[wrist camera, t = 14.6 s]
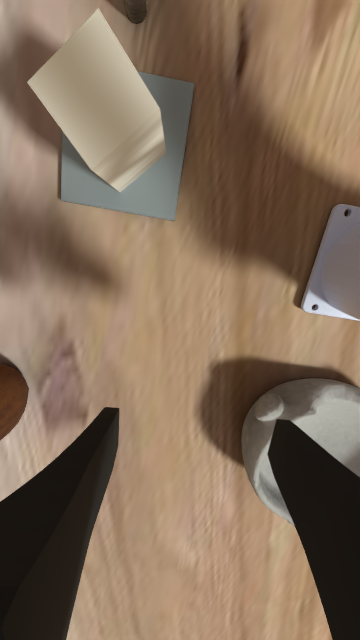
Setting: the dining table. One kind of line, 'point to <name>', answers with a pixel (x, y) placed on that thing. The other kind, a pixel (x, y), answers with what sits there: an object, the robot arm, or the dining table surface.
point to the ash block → (102, 104)
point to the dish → (310, 416)
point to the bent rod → (135, 10)
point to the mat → (156, 182)
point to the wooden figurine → (11, 398)
